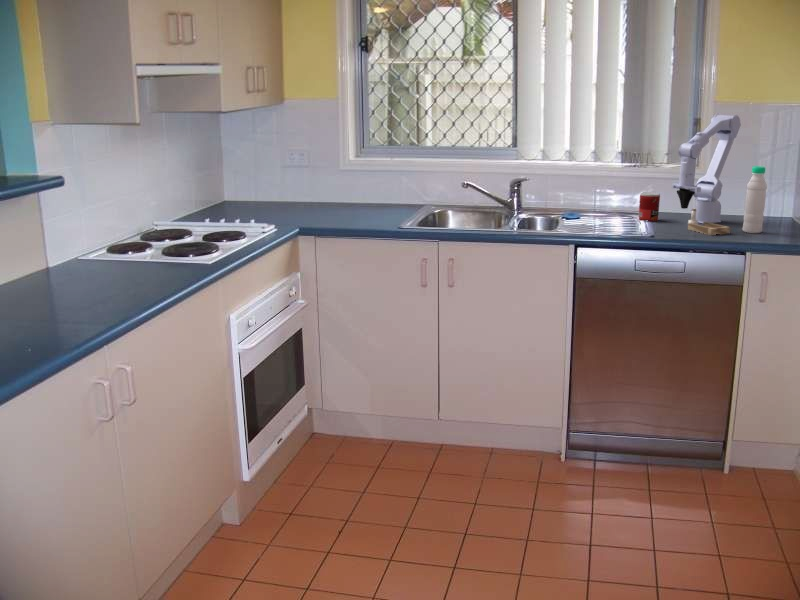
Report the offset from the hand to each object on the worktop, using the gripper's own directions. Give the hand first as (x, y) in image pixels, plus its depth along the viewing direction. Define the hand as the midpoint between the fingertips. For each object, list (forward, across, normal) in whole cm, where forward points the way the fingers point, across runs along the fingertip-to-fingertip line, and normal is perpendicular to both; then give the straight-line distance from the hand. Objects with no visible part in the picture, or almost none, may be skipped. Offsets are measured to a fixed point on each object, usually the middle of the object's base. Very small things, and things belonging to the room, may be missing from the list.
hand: (684, 208), depth 349 cm
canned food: (+7, -16, -4) cm, 18 cm away
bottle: (+7, +6, 0) cm, 9 cm away
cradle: (+7, +14, 0) cm, 15 cm away
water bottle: (+7, +22, +15) cm, 27 cm away
